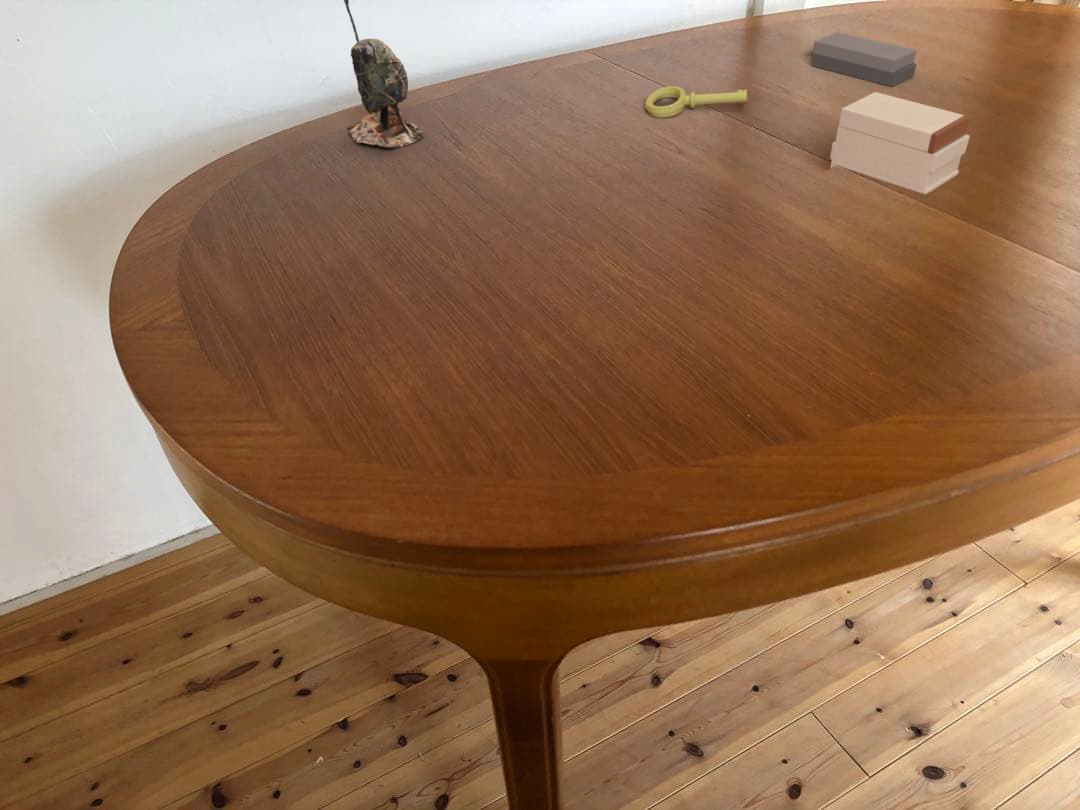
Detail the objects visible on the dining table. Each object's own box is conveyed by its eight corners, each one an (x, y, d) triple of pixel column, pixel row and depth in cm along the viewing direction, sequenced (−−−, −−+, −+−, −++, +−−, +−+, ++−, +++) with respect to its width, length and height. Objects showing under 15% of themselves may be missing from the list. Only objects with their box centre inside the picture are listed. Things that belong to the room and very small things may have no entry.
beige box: (955, 187, 88) (970, 135, 85) (923, 208, 85) (936, 155, 82) (860, 157, 95) (870, 107, 91) (826, 175, 92) (835, 124, 88)
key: (751, 111, 106) (753, 93, 104) (649, 119, 105) (650, 102, 104) (735, 90, 111) (737, 73, 110) (639, 98, 111) (639, 81, 110)
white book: (965, 135, 85) (970, 116, 84) (932, 154, 82) (937, 135, 81) (872, 109, 91) (875, 91, 90) (838, 126, 88) (841, 108, 87)
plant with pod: (366, 164, 99) (332, -29, 86) (343, 129, 107) (308, -52, 95) (435, 150, 101) (412, -41, 89) (407, 117, 109) (382, -62, 97)
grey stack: (914, 76, 112) (919, 50, 110) (892, 87, 110) (897, 60, 108) (832, 56, 120) (836, 31, 118) (810, 65, 117) (814, 40, 115)
